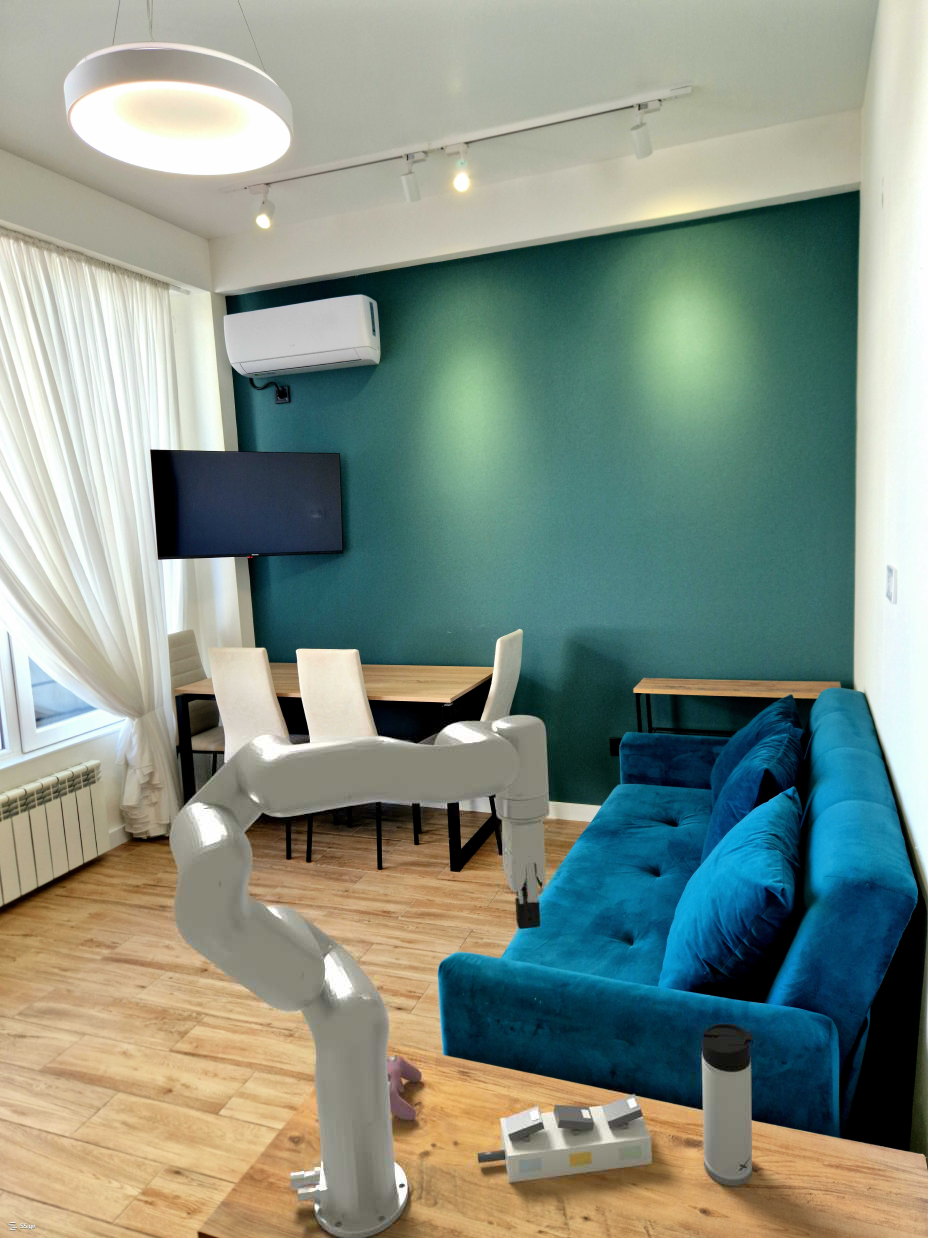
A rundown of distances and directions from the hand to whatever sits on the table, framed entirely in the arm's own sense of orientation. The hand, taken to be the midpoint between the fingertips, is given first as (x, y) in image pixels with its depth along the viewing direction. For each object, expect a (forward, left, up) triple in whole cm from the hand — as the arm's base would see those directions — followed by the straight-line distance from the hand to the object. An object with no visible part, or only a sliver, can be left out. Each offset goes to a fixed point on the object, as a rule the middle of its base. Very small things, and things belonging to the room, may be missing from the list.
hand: (528, 925), depth 117 cm
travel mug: (+24, -13, -31) cm, 42 cm away
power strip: (+2, -7, -31) cm, 32 cm away
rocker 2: (+11, -7, -26) cm, 29 cm away
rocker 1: (-3, -7, -26) cm, 27 cm away
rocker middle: (+4, -7, -26) cm, 27 cm away
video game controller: (-20, +8, -31) cm, 38 cm away
